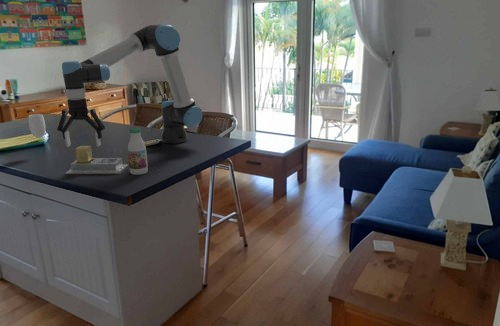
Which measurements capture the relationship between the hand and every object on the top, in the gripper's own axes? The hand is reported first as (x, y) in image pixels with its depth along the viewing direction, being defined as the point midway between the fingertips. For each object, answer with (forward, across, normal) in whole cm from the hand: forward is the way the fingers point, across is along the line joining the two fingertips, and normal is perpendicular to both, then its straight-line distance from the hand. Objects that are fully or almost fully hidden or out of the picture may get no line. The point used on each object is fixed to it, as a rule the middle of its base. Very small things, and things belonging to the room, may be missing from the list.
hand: (83, 145), depth 180 cm
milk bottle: (+12, -25, +4) cm, 28 cm away
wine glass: (+11, +32, -22) cm, 41 cm away
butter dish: (+11, -5, 0) cm, 12 cm away
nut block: (+11, 0, 0) cm, 11 cm away
